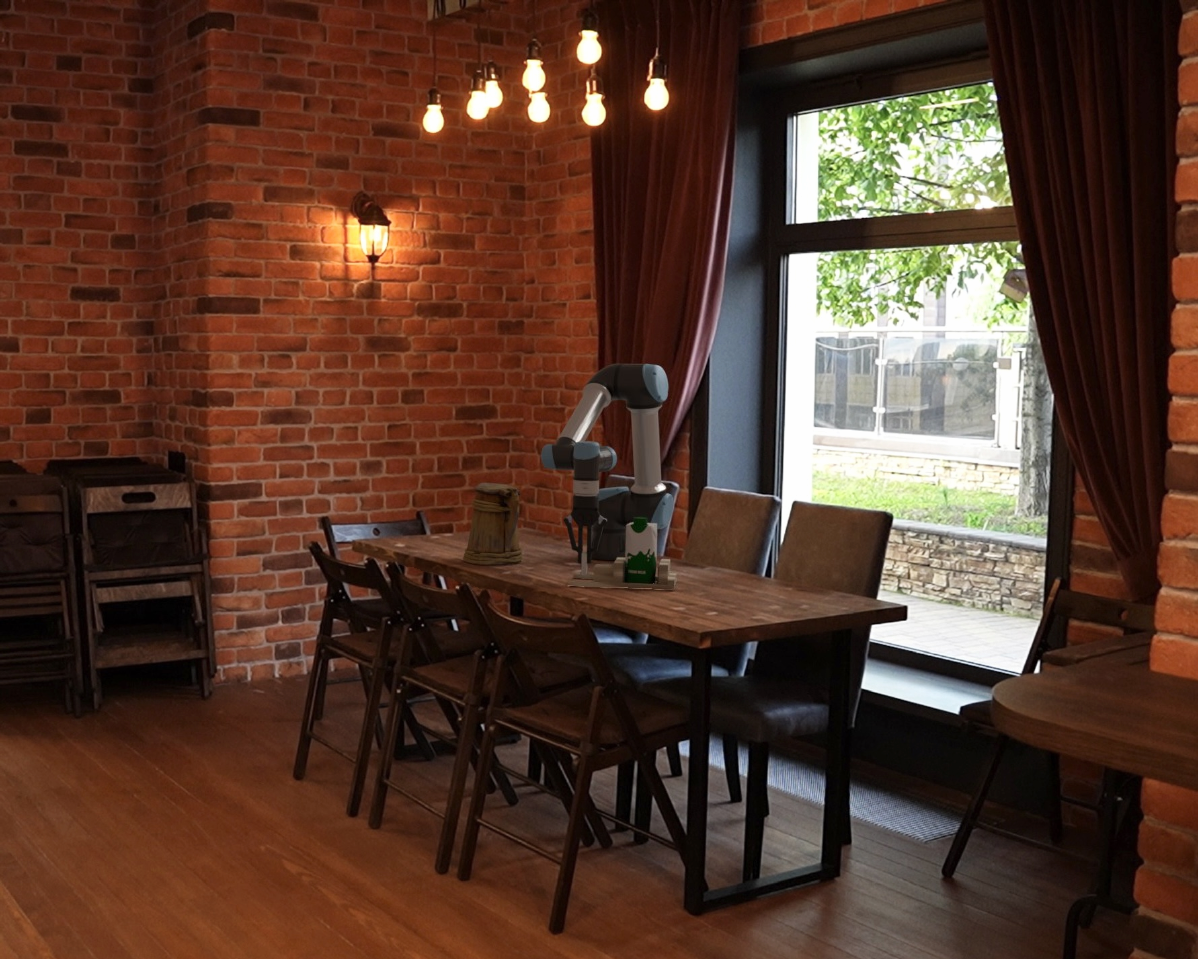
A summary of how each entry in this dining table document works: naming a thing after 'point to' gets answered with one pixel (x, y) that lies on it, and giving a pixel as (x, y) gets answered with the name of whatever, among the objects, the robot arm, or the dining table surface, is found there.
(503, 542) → the tankard
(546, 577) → the dining table surface
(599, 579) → the sliding jaw
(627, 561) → the soya milk
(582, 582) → the vise bed
